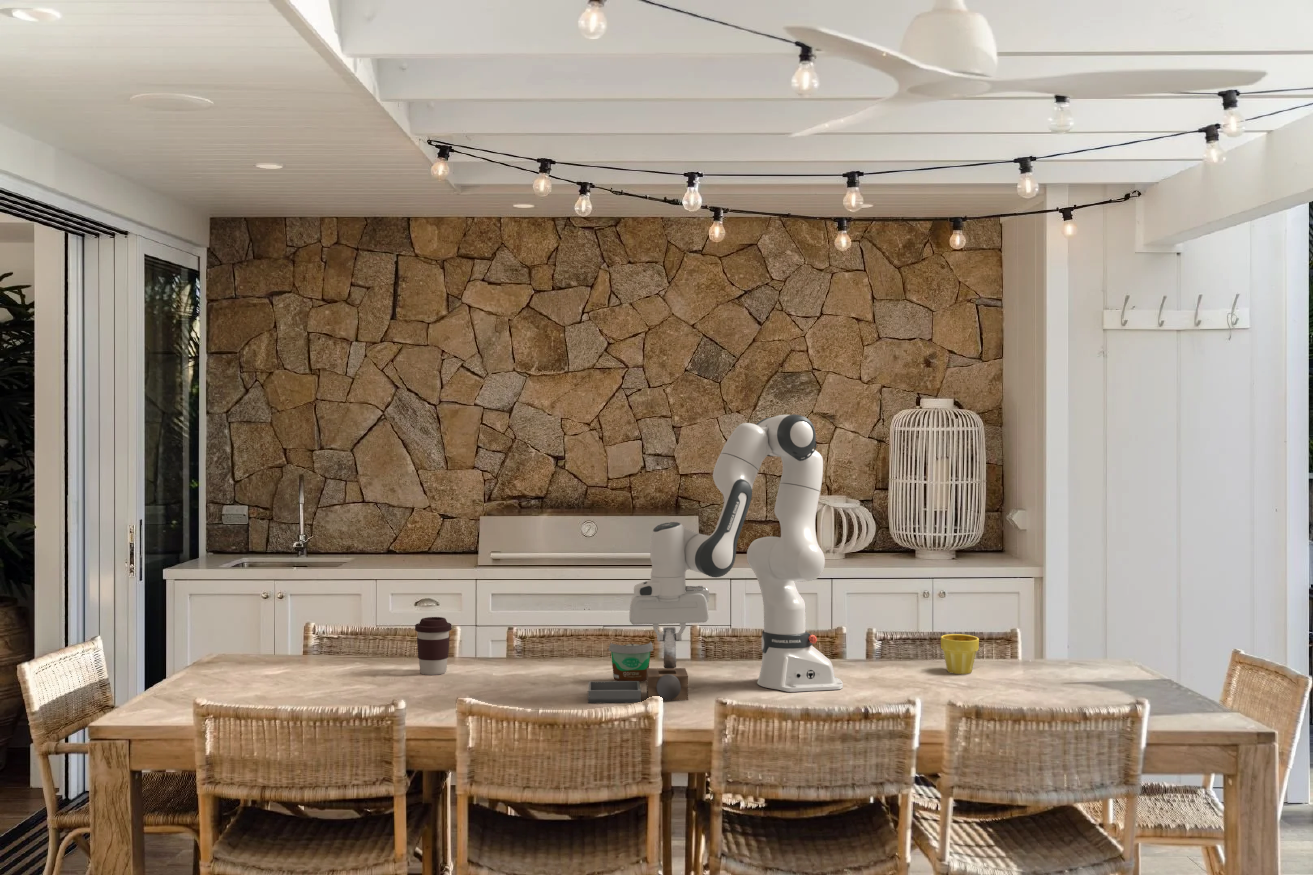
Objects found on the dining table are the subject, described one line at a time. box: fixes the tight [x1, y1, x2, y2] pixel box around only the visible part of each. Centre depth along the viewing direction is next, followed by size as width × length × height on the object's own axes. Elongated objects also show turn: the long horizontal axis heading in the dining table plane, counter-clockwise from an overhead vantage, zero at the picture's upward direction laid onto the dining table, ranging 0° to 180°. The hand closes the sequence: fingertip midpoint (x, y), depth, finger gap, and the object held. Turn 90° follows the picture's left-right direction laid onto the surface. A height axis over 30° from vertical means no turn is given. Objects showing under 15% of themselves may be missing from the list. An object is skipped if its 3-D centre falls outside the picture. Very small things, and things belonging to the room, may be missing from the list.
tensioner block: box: [646, 667, 689, 701], centre depth 305 cm, size 10×12×6 cm
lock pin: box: [662, 626, 677, 668], centre depth 306 cm, size 3×3×10 cm
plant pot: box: [940, 633, 980, 675], centre depth 338 cm, size 10×10×10 cm
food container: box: [608, 640, 654, 683], centre depth 324 cm, size 12×6×10 cm, turn 105°
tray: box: [587, 680, 642, 704], centre depth 304 cm, size 13×11×3 cm
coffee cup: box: [414, 616, 453, 676], centre depth 333 cm, size 10×10×15 cm
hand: (669, 640), depth 306 cm, fingers closed on lock pin, 3 cm apart
